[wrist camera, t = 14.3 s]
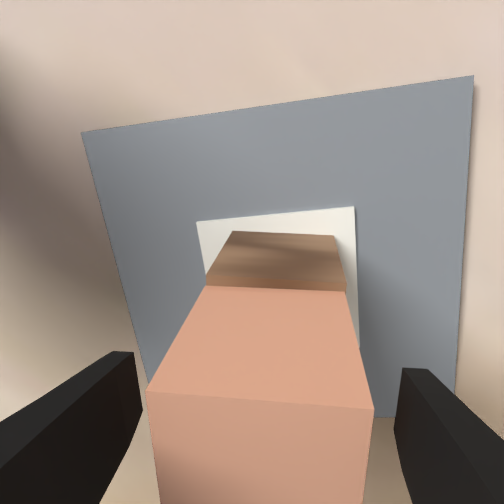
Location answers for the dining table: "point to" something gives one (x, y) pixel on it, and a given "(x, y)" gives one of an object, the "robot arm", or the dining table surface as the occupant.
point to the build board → (302, 212)
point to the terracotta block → (262, 401)
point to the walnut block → (278, 262)
